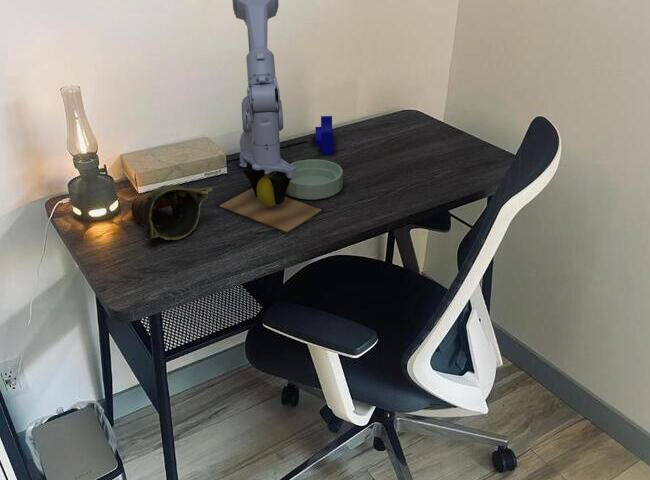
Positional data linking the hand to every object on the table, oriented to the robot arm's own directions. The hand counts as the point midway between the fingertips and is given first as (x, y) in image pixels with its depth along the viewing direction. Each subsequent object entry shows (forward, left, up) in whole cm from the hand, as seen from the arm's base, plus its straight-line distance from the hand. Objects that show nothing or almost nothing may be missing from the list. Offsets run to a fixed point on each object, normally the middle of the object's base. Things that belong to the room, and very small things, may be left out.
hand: (269, 199), depth 148 cm
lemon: (0, 0, -2) cm, 2 cm away
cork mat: (0, 0, -2) cm, 2 cm away
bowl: (+1, +14, -2) cm, 14 cm away
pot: (-11, -19, -3) cm, 23 cm away
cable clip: (-12, +36, -3) cm, 38 cm away
